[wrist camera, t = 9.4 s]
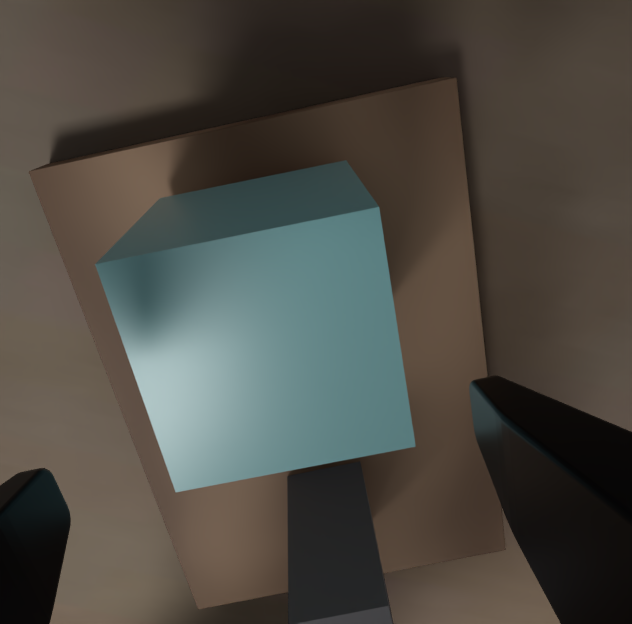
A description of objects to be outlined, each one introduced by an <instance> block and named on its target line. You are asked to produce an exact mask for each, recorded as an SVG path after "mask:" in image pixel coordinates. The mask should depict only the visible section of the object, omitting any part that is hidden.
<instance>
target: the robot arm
mask: <svg viewBox="0 0 632 624" xmlns="http://www.w3.org/2000/svg"><path fill="white" fill-rule="evenodd" d="M469 392H470V401H471V409H472V417H473V426H474V432H475V436H476V440H477V443H478V446H479V448H480V451H481V453H482V456H483V459H484V461H485V464H486V466H487V469H488V472H489V474H490V477H491V479H492V482H493V484H494V487H495V490H496V492H497V495H498V497H499V500H500V503H501V505H502V508H503V510H504V513H505V516H506V518H507V520H508V523H509V525H510V528H511V530H512V532H513V534H514V536H515V538H516V540H517V542H518V544H519V546H520V548H521V550H522V552H523V554H524V556H525V557H526V559H527V561H528V563H529V565H530V567H531V569H532V571H533V572H534V574H535V576H536V578H537V580H538V582H539V584H540V586H541V587H542V589H543V591H544V593H545V595H546V597H547V599H548V600H549V602H550V604H551V606H552V608H553V610H554V612H555V614H556V615H557V617H558V619H559V621H560V623H561V624H632V432H631V431H628V430H626V429H623V428H621V427H619V426H616V425H614V424H612V423H609V422H607V421H604V420H602V419H600V418H597V417H595V416H593V415H590V414H588V413H585V412H583V411H581V410H578V409H576V408H573V407H571V406H569V405H566V404H564V403H562V402H559V401H557V400H554V399H552V398H550V397H547V396H545V395H543V394H540V393H538V392H535V391H533V390H531V389H528V388H526V387H524V386H521V385H519V384H516V383H514V382H512V381H509V380H507V379H505V378H502V377H500V376H490V377H485V378H480V379H475V380H473V381H471V383H470V386H469ZM70 522H71V519H70V512H69V509H68V506H67V504H66V502H65V500H64V498H63V496H62V493H61V491H60V489H59V487H58V485H57V483H56V481H55V478H54V476H53V475H52V473H51V472H50V471H49V470H47V469H45V468H39V469H34V470H29V471H24V472H20V473H18V474H16V475H15V476H13V477H12V478H10V479H9V480H7V481H6V482H4V483H3V484H2V485H0V624H49V623H50V619H51V615H52V611H53V607H54V602H55V597H56V593H57V588H58V583H59V578H60V573H61V569H62V564H63V559H64V554H65V549H66V544H67V540H68V535H69V530H70Z"/></svg>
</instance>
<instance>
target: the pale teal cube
mask: <svg viewBox="0 0 632 624" xmlns="http://www.w3.org/2000/svg"><path fill="white" fill-rule="evenodd" d="M95 266H96V268H97V271H98V274H99V277H100V280H101V283H102V285H103V288H104V291H105V294H106V297H107V300H108V302H109V305H110V308H111V311H112V314H113V316H114V319H115V322H116V325H117V328H118V331H119V333H120V336H121V339H122V342H123V345H124V348H125V350H126V353H127V356H128V359H129V362H130V365H131V367H132V370H133V373H134V376H135V379H136V382H137V384H138V387H139V390H140V393H141V396H142V399H143V401H144V404H145V407H146V410H147V413H148V415H149V418H150V421H151V424H152V427H153V430H154V432H155V435H156V438H157V441H158V444H159V447H160V449H161V452H162V455H163V458H164V461H165V464H166V466H167V469H168V472H169V475H170V478H171V481H172V483H173V486H174V489H175V492H181V491H186V490H191V489H196V488H202V487H207V486H212V485H217V484H222V483H228V482H233V481H238V480H243V479H249V478H254V477H259V476H264V475H270V474H275V473H280V472H285V471H291V470H296V469H301V468H306V467H312V466H317V465H322V464H327V463H332V462H338V461H343V460H348V459H353V458H359V457H364V456H369V455H374V454H380V453H385V452H390V451H395V450H401V449H406V448H411V447H416V445H415V439H414V432H413V426H412V419H411V413H410V406H409V399H408V393H407V386H406V380H405V373H404V367H403V360H402V353H401V347H400V340H399V334H398V327H397V321H396V314H395V308H394V301H393V294H392V288H391V281H390V275H389V268H388V262H387V255H386V249H385V242H384V235H383V229H382V222H381V216H380V209H379V206H378V205H377V203H376V202H375V200H374V199H373V197H372V196H371V195H370V193H369V192H368V190H367V189H366V188H365V186H364V185H363V183H362V182H361V180H360V179H359V178H358V176H357V175H356V173H355V172H354V171H353V169H352V168H351V166H350V165H349V163H348V162H347V161H346V160H345V161H340V162H335V163H330V164H325V165H320V166H315V167H310V168H305V169H300V170H296V171H291V172H286V173H281V174H276V175H271V176H266V177H261V178H256V179H251V180H247V181H242V182H237V183H232V184H227V185H222V186H217V187H212V188H207V189H202V190H198V191H193V192H188V193H183V194H178V195H173V196H168V197H163V198H160V199H159V200H158V201H157V202H156V203H155V204H154V205H153V206H152V207H151V208H150V209H149V210H148V211H147V212H146V213H145V214H144V215H143V216H142V217H141V218H140V219H139V220H138V221H137V222H136V223H135V224H134V225H133V226H132V227H131V228H130V229H129V230H128V231H127V232H126V233H125V234H124V235H123V236H122V237H121V238H120V239H119V240H118V241H117V242H116V243H115V244H114V245H113V246H112V247H111V248H110V250H109V251H108V252H107V253H106V254H105V255H104V256H103V257H102V258H101V259H100V260H99V261H98V262H97V263H96V264H95Z"/></svg>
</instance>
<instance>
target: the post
mask: <svg viewBox="0 0 632 624" xmlns="http://www.w3.org/2000/svg"><path fill="white" fill-rule="evenodd" d="M287 505H288V624H393V620H392V615H391V610H390V605H389V600H388V594H387V589H386V584H385V579H384V574H383V569H382V564H381V559H380V554H379V549H378V544H377V539H376V534H375V529H374V524H373V519H372V514H371V509H370V505H369V500H368V495H367V491H366V486H365V481H364V477H363V472H362V467H361V462H360V461H359V462H354V463H350V464H345V465H340V466H335V467H330V468H325V469H320V470H315V471H310V472H305V473H300V474H295V475H290V476H287Z"/></svg>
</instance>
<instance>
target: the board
mask: <svg viewBox="0 0 632 624" xmlns="http://www.w3.org/2000/svg"><path fill="white" fill-rule="evenodd" d="M345 160H346V161H347V162H348V163H349V165H350V166H351V168H352V169H353V171H354V172H355V173H356V175H357V176H358V178H359V179H360V180H361V182H362V183H363V185H364V186H365V188H366V189H367V190H368V192H369V193H370V195H371V196H372V197H373V199H374V200H375V202H376V203H377V205H378V206H379V209H380V216H381V222H382V229H383V235H384V242H385V249H386V255H387V262H388V268H389V275H390V281H391V288H392V294H393V301H394V308H395V314H396V321H397V327H398V334H399V340H400V347H401V353H402V360H403V367H404V373H405V380H406V386H407V393H408V399H409V406H410V413H411V419H412V426H413V432H414V439H415V445H416V447H411V448H406V449H401V450H395V451H390V452H385V453H380V454H374V455H369V456H364V457H359V458H353V459H348V460H343V461H338V462H332V463H327V464H322V465H317V466H312V467H306V468H301V469H296V470H291V471H285V472H280V473H275V474H270V475H264V476H259V477H254V478H249V479H243V480H238V481H233V482H228V483H222V484H217V485H212V486H207V487H202V488H196V489H191V490H186V491H181V492H175V489H174V486H173V483H172V481H171V478H170V475H169V472H168V469H167V466H166V464H165V461H164V458H163V455H162V452H161V449H160V447H159V444H158V441H157V438H156V435H155V432H154V430H153V427H152V424H151V421H150V418H149V415H148V413H147V410H146V407H145V404H144V401H143V399H142V396H141V393H140V390H139V387H138V384H137V382H136V379H135V376H134V373H133V370H132V367H131V365H130V362H129V359H128V356H127V353H126V350H125V348H124V345H123V342H122V339H121V336H120V333H119V331H118V328H117V325H116V322H115V319H114V316H113V314H112V311H111V308H110V305H109V302H108V300H107V297H106V294H105V291H104V288H103V285H102V283H101V280H100V277H99V274H98V271H97V268H96V266H95V264H96V263H97V262H98V261H99V260H100V259H101V258H102V257H103V256H104V255H105V254H106V253H107V252H108V251H109V250H110V248H111V247H112V246H113V245H114V244H115V243H116V242H117V241H118V240H119V239H120V238H121V237H122V236H123V235H124V234H125V233H126V232H127V231H128V230H129V229H130V228H131V227H132V226H133V225H134V224H135V223H136V222H137V221H138V220H139V219H140V218H141V217H142V216H143V215H144V214H145V213H146V212H147V211H148V210H149V209H150V208H151V207H152V206H153V205H154V204H155V203H156V202H157V201H158V200H159V199H160V198H163V197H168V196H173V195H178V194H183V193H188V192H193V191H198V190H202V189H207V188H212V187H217V186H222V185H227V184H232V183H237V182H242V181H247V180H251V179H256V178H261V177H266V176H271V175H276V174H281V173H286V172H291V171H296V170H300V169H305V168H310V167H315V166H320V165H325V164H330V163H335V162H340V161H345ZM29 174H30V176H31V179H32V182H33V184H34V187H35V189H36V192H37V195H38V197H39V200H40V202H41V205H42V207H43V210H44V213H45V215H46V218H47V220H48V223H49V226H50V228H51V231H52V233H53V236H54V238H55V241H56V244H57V246H58V249H59V251H60V254H61V257H62V259H63V262H64V264H65V267H66V269H67V272H68V275H69V277H70V280H71V282H72V285H73V287H74V290H75V293H76V295H77V298H78V300H79V303H80V306H81V308H82V311H83V313H84V316H85V318H86V321H87V324H88V326H89V329H90V331H91V334H92V337H93V339H94V342H95V344H96V347H97V349H98V352H99V355H100V357H101V360H102V362H103V365H104V368H105V370H106V373H107V375H108V378H109V380H110V383H111V386H112V388H113V391H114V393H115V396H116V398H117V401H118V404H119V406H120V409H121V411H122V414H123V417H124V419H125V422H126V424H127V427H128V429H129V432H130V435H131V437H132V440H133V442H134V445H135V448H136V450H137V453H138V455H139V458H140V460H141V463H142V466H143V468H144V471H145V473H146V476H147V479H148V481H149V484H150V486H151V489H152V491H153V494H154V497H155V499H156V502H157V504H158V507H159V509H160V512H161V515H162V517H163V520H164V522H165V525H166V528H167V530H168V533H169V535H170V538H171V540H172V543H173V546H174V548H175V551H176V553H177V556H178V559H179V561H180V564H181V566H182V569H183V571H184V574H185V577H186V579H187V582H188V584H189V587H190V589H191V592H192V595H193V597H194V600H195V602H196V605H197V608H198V610H199V609H204V608H209V607H214V606H219V605H224V604H229V603H235V602H240V601H245V600H250V599H255V598H260V597H265V596H270V595H276V594H281V593H286V592H288V505H287V476H290V475H295V474H300V473H305V472H310V471H315V470H320V469H325V468H330V467H335V466H340V465H345V464H350V463H354V462H359V461H360V462H361V467H362V472H363V477H364V481H365V486H366V491H367V495H368V500H369V505H370V509H371V514H372V519H373V524H374V529H375V534H376V539H377V544H378V549H379V554H380V559H381V564H382V569H383V574H384V573H389V572H394V571H399V570H404V569H409V568H414V567H420V566H425V565H430V564H435V563H440V562H445V561H450V560H455V559H461V558H466V557H471V556H476V555H481V554H486V553H491V552H497V551H502V550H506V548H505V538H504V529H503V519H502V510H501V503H500V500H499V497H498V495H497V492H496V490H495V487H494V484H493V482H492V479H491V477H490V474H489V472H488V469H487V466H486V464H485V461H484V459H483V456H482V453H481V451H480V448H479V446H478V443H477V440H476V436H475V432H474V426H473V417H472V409H471V401H470V392H469V386H470V383H471V381H473V380H475V379H480V378H485V377H488V376H487V366H486V356H485V347H484V337H483V328H482V318H481V309H480V299H479V289H478V280H477V270H476V261H475V251H474V241H473V232H472V222H471V213H470V203H469V194H468V184H467V174H466V165H465V155H464V146H463V136H462V127H461V117H460V107H459V98H458V88H457V79H456V78H452V77H441V78H437V79H432V80H428V81H423V82H418V83H414V84H409V85H405V86H400V87H396V88H391V89H387V90H382V91H377V92H373V93H368V94H364V95H359V96H355V97H350V98H346V99H341V100H336V101H332V102H327V103H323V104H318V105H314V106H309V107H305V108H300V109H295V110H291V111H286V112H282V113H277V114H273V115H268V116H264V117H259V118H254V119H250V120H245V121H241V122H236V123H232V124H227V125H223V126H218V127H213V128H209V129H204V130H200V131H195V132H191V133H186V134H182V135H177V136H172V137H168V138H163V139H159V140H154V141H150V142H145V143H141V144H136V145H132V146H127V147H122V148H118V149H113V150H109V151H104V152H100V153H95V154H91V155H86V156H81V157H77V158H72V159H68V160H63V161H59V162H54V163H50V164H47V165H44V166H41V167H39V168H36V169H34V170H31V171H29Z"/></svg>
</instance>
